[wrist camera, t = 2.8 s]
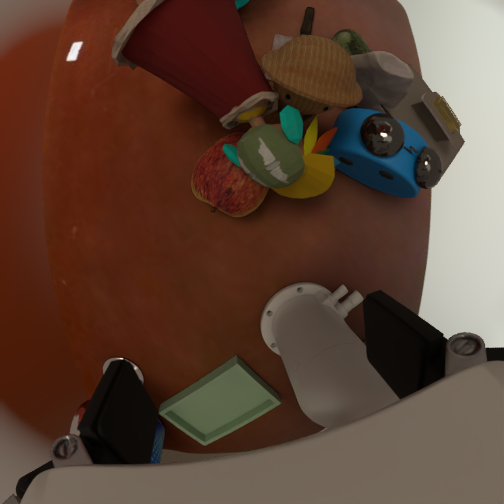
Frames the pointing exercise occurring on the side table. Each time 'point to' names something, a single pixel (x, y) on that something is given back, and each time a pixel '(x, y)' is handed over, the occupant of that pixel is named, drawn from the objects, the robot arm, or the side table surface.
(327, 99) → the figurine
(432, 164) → the alarm clock
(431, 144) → the platform
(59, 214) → the side table surface
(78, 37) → the side table surface
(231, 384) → the tray
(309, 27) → the cleaver
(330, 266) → the side table surface
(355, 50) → the vegetable
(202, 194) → the apple
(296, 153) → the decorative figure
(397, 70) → the stone
